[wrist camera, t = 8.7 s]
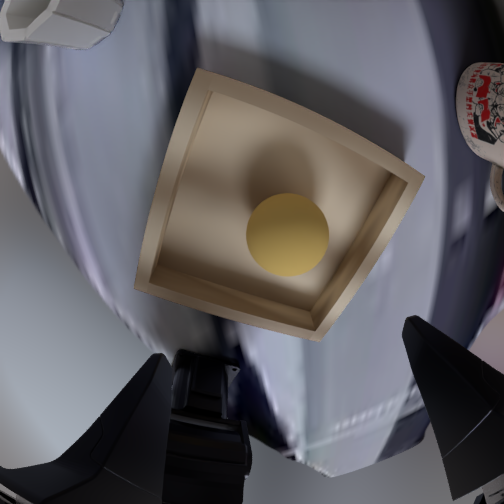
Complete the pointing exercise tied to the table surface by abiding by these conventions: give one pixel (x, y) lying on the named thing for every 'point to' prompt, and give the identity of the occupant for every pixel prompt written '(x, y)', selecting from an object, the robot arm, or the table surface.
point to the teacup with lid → (484, 117)
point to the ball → (287, 234)
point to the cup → (59, 22)
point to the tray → (256, 191)
